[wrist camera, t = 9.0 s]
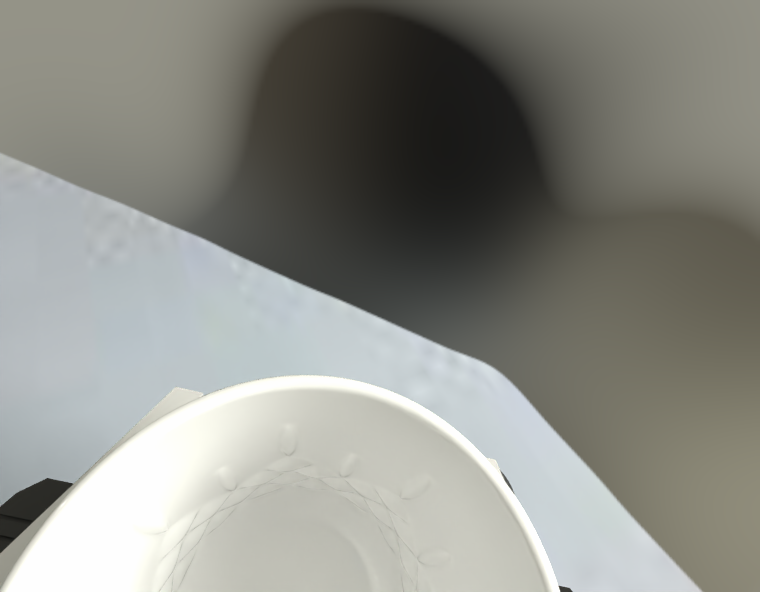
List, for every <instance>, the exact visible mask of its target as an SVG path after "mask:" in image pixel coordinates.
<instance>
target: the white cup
mask: <svg viewBox="0 0 760 592" xmlns="http://www.w3.org/2000/svg"><path fill="white" fill-rule="evenodd" d="M0 592H560V590H559V587H558V584H557V581H556V578H555V575H554V572H553V570H552V567H551V564H550V562H549V560H548V557H547V555H546V552H545V550H544V548H543V546H542V543H541V541H540V539H539V537H538V535H537V533H536V531H535V529H534V527H533V525H532V523H531V522H530V520H529V518H528V516H527V514H526V513H525V511H524V509H523V508H522V506H521V504H520V503H519V501H518V500H517V498H516V497H515V495H514V494H513V492H512V491H511V489H510V488H509V486H508V485H507V484H506V482H505V481H504V480H503V478H502V477H501V476H500V474H499V473H498V472H497V471H496V469H495V468H494V467H493V466H492V465H491V463H490V462H489V461H488V460H487V459H486V458H485V457H484V456H483V455H482V454H481V453H480V451H479V450H478V449H477V448H476V447H475V446H474V445H473V444H471V443H470V442H469V441H468V440H467V439H466V438H465V437H464V436H463V435H462V434H460V433H459V432H458V431H457V430H456V429H454V428H453V427H452V426H451V425H449V424H448V423H447V422H445V421H444V420H443V419H441V418H440V417H438V416H437V415H435V414H434V413H432V412H431V411H429V410H427V409H426V408H424V407H422V406H421V405H419V404H417V403H415V402H413V401H411V400H409V399H407V398H405V397H403V396H401V395H399V394H396V393H394V392H391V391H389V390H386V389H383V388H381V387H378V386H374V385H371V384H368V383H364V382H360V381H356V380H351V379H345V378H339V377H331V376H320V375H291V376H279V377H271V378H264V379H258V380H253V381H249V382H244V383H240V384H237V385H233V386H230V387H226V388H223V389H220V390H217V391H215V392H212V393H209V394H207V395H204V396H202V397H200V398H197V399H195V400H193V401H191V402H188V403H186V404H184V405H182V406H180V407H178V408H176V409H174V410H173V411H171V412H169V413H167V414H165V415H164V416H162V417H160V418H159V419H157V420H155V421H154V422H152V423H150V424H149V425H147V426H146V427H144V428H143V429H141V430H140V431H138V432H137V433H136V434H134V435H133V436H131V437H130V438H129V439H127V440H126V441H125V442H123V443H122V444H121V445H120V446H118V447H117V448H116V449H115V450H113V451H112V452H111V453H110V454H109V455H107V456H106V457H105V458H104V459H103V460H102V461H101V462H99V463H98V464H97V465H96V466H95V467H94V468H93V469H92V470H91V471H90V472H89V473H88V474H87V475H86V476H85V477H84V478H83V479H82V480H81V481H80V482H79V483H78V484H77V485H76V486H75V487H74V488H73V489H72V490H71V491H70V492H69V493H68V494H67V495H66V497H65V498H64V499H63V500H62V501H61V502H60V503H59V504H58V506H57V507H56V508H55V509H54V510H53V512H52V513H51V514H50V515H49V516H48V518H47V519H46V520H45V521H44V523H43V524H42V525H41V527H40V528H39V529H38V531H37V532H36V533H35V535H34V536H33V537H32V539H31V540H30V542H29V543H28V544H27V546H26V547H25V549H24V550H23V552H22V553H21V555H20V556H19V558H18V559H17V561H16V562H15V564H14V565H13V567H12V569H11V570H10V572H9V574H8V575H7V577H6V579H5V580H4V582H3V584H2V585H1V587H0Z"/></svg>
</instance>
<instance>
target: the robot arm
mask: <svg viewBox="0 0 760 592" xmlns="http://www.w3.org/2000/svg"><path fill="white" fill-rule="evenodd" d="M202 396H203V393H200V392H196V391H192V390H187V389H183V388H178V387H175V388H174V389H173V390H172V391H171V392H170V393H169V394H168V395H167V396H166V397H165V398H164V399H163V400H161V401H160V402H159V403H158V404H157V405H156V406H155V407H154V408H153V409H152V410H151V411H150V412H149V413H148V414H147V415H146V416H145V417H144V418H143V419H141V420H140V421H139V422H138V423H137V424H136V425H135V426H134V427H133V428H132V429H131V430H130V431H129V432H128V433H127V434H126V435H125V436H124V437H122V438H121V439H120V440H119V441H118V442H117V443H116V444H115V445H114V446H113V447H112V448H111V449H110V450H109V451H108V452H107V453H106V454H105V455H104V456H102V457H101V458H100V459H99V460H98V461H97V462H96V463H95V464H94V465H93V466H92V467H91V468H90V469H89V470H88V471H87V472H86V473H85V474H83V475H82V476H81V477H80V478H79V479H78V480H77V481H76V482H75V483H74V484H72V483H68V482H63V481H58V480H53V479H49V478H47V479H45V480H43V481H41V482H38V483H36V484H34V485H32V486H30V487H28V488H26V489H24V490H22V491H20V492H18V493H16V494H15V495H14V496H13V497H11V498H10V499H9V500H8V501H7V502H5V503H4V504H3V505H2V506H1V507H0V587H1V585H2V584H3V582H4V580H5V579H6V577H7V575H8V574H9V572H10V570H11V569H12V567H13V565H14V564H15V562H16V561H17V559H18V558H19V556H20V555H21V553H22V552H23V550H24V549H25V547H26V546H27V544H28V543H29V542H30V540H31V539H32V537H33V536H34V535H35V533H36V532H37V531H38V529H39V528H40V527H41V525H42V524H43V523H44V521H45V520H46V519H47V518H48V516H49V515H50V514H51V513H52V512H53V510H54V509H55V508H56V507H57V506H58V504H59V503H60V502H61V501H62V500H63V499H64V498H65V497H66V495H67V494H68V493H69V492H70V491H71V490H72V489H73V488H74V487H75V486H76V485H77V484H78V483H79V482H80V481H81V480H82V479H83V478H84V477H85V476H86V475H87V474H88V473H89V472H90V471H91V470H92V469H93V468H94V467H95V466H96V465H97V464H98V463H99V462H101V461H102V460H103V459H104V458H105V457H106V456H107V455H109V454H110V453H111V452H112V451H113V450H115V449H116V448H117V447H118V446H120V445H121V444H122V443H123V442H125V441H126V440H127V439H129V438H130V437H131V436H133V435H134V434H136V433H137V432H138V431H140V430H141V429H143V428H144V427H146V426H147V425H149V424H150V423H152V422H154V421H155V420H157V419H159V418H160V417H162V416H164V415H165V414H167V413H169V412H171V411H173V410H174V409H176V408H178V407H180V406H182V405H184V404H186V403H188V402H191V401H193V400H195V399H197V398H200V397H202ZM486 459H487V460H488V461H489V462H490V463H491V465H492V466H493V467H494V468H495V469H496V471H497V472H498V473H499V474H500V476H501V477H502V478H503V476H502V474H501V471H500V469H499V467H498V464H497V462H496V460H494V459H489V458H486ZM503 480H504V478H503ZM558 587H559V590H560V592H572V590H571V589H570V588H567V587H562V586H558Z"/></svg>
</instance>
